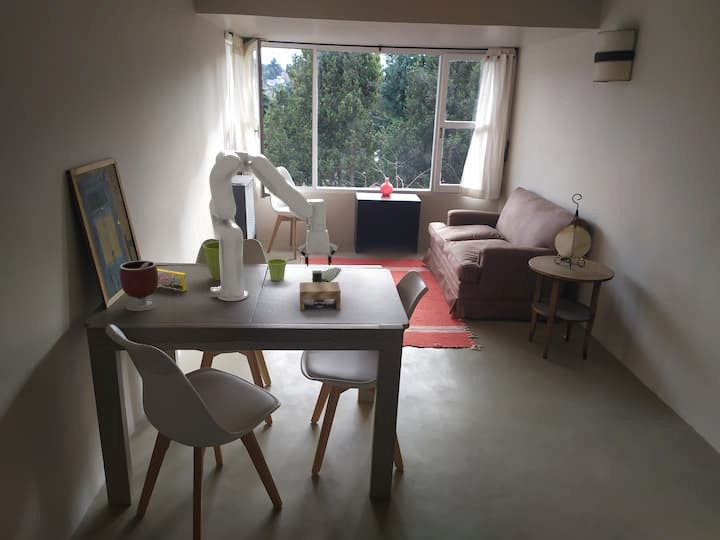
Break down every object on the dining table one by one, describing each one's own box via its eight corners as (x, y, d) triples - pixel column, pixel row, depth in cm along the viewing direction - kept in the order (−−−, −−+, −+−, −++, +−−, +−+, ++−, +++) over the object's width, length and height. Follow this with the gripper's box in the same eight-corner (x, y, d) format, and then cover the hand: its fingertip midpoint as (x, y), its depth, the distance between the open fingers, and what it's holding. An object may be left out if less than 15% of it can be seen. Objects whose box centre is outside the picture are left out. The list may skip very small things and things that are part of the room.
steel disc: (313, 309, 217) (313, 305, 216) (313, 304, 221) (313, 301, 221) (326, 308, 217) (326, 305, 217) (325, 304, 222) (325, 301, 222)
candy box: (154, 287, 238) (152, 269, 236) (157, 286, 240) (156, 268, 238) (183, 292, 233) (182, 274, 230) (187, 291, 234) (185, 272, 232)
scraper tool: (314, 301, 225) (314, 285, 223) (312, 285, 245) (312, 270, 243) (323, 300, 226) (323, 284, 224) (321, 285, 246) (321, 270, 244)
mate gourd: (116, 306, 214) (111, 257, 209) (149, 297, 225) (145, 251, 219) (136, 316, 205) (130, 265, 199) (169, 306, 215) (165, 258, 209)
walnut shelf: (300, 310, 214) (300, 291, 211) (299, 300, 225) (299, 282, 223) (340, 310, 216) (340, 291, 213) (338, 300, 227) (338, 281, 225)
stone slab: (311, 283, 253) (331, 282, 251) (310, 278, 252) (330, 277, 250) (324, 271, 274) (343, 270, 272) (323, 266, 273) (342, 265, 271)
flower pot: (223, 271, 263) (221, 239, 259) (244, 277, 255) (243, 244, 250) (198, 278, 251) (196, 245, 247) (219, 285, 243) (217, 250, 239)
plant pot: (291, 278, 255) (291, 260, 252) (278, 283, 247) (278, 265, 245) (276, 275, 260) (276, 257, 257) (263, 279, 252) (262, 261, 249)
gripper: (297, 230, 231) (299, 268, 236) (337, 228, 233) (338, 266, 238) (297, 226, 239) (298, 263, 244) (336, 225, 241) (337, 262, 246)
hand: (318, 265), depth 241 cm, fingers open, 9 cm apart
